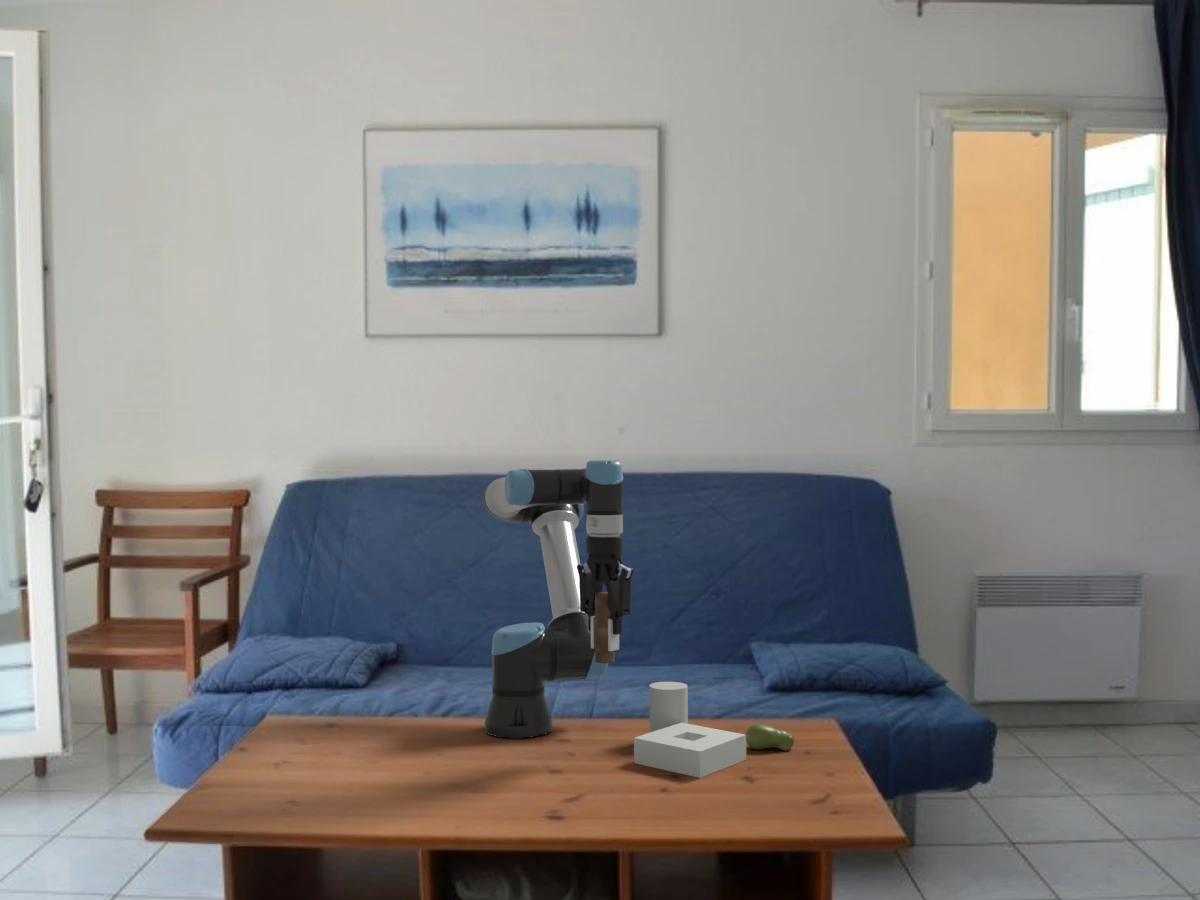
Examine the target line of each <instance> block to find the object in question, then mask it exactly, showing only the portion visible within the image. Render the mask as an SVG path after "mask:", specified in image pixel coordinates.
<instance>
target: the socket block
mask: <svg viewBox="0 0 1200 900" xmlns="http://www.w3.org/2000/svg"><path fill="white" fill-rule="evenodd" d="M746 760H747V742H746V733H745V734H744V733H739V732H734V731H729V730H723V729H716V728H712V727H706V726H703V725H702V726H701V725H697V724H693V723H691V724H690V723H688V724H687V723H678V724H675V725H672V726H669V727H666V728H663V729H660V730H657V731H654V732H650V731H649V732H647V733H644V734H642V735H639V736H635V737H634V738H633V763H634V764H636V765H637V764H638V765H641V766H646V767H650V768H655V769H658V770H663V771H668V772H671V773H672V772H673V773H677V774H682V775H686V776H689V777H694V778H699V779H701V778H705V777H706V776H709V775H712V774H714V773H716V772H719V771H721V770H724V769H726V768H729V767H731V766H734V765H736V764H739V763H742V762H744V761H746Z"/></svg>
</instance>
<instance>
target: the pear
mask: <svg viewBox="0 0 1200 900" xmlns="http://www.w3.org/2000/svg"><path fill="white" fill-rule="evenodd" d="M745 735H746V745H748V746H749V748H751V749H753V750H755V749H757V750H756V751H762V750H766V749H769V748H772V747H774V748H778V749H780V750H781V751H783V750H784V751H785V752H787V751H786V750H790V751H791V750H792V748H793V745H794V743H795V741H794V739H795V736H794V735H792V734H790V733H789V732H788V731H786V730H784V729H778V728H777V727H776V728H775V727H774V726H771V725H768V724H764V723H754V724H751V725H750V726H749V727H748V728H747V730H746V732H745ZM784 751H783V752H784Z"/></svg>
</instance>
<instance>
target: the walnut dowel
mask: <svg viewBox="0 0 1200 900" xmlns="http://www.w3.org/2000/svg"><path fill="white" fill-rule="evenodd" d="M609 617H611V612H610V606H609V600H608V593H607V591H602V592H599V593H595V662H597V663H608V664H612V663H615V659H616V658H615V657H616V656H615V655H616V654H615V653H616V652H615V651H616V650H614V651H608V619H610V618H609Z"/></svg>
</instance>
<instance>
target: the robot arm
mask: <svg viewBox="0 0 1200 900" xmlns="http://www.w3.org/2000/svg"><path fill="white" fill-rule="evenodd" d="M585 466H586V468H567V469H566V468H565V469H564V468H563V469H526V468H522V469H521V468H520V469H513V470H509V471H507V473H506V476H505V477H504V476H503V477H500V478H499V477H498V478H497V479H494V480H492V481H490V483H489V484H488V485H487V486H486V488H485V489H484V492H483V498H482V499H483V505H484V506H485V507H484V508H485V510H487V512H488V513H489V514H490V515H491V516H492V517H494V518H496V519H499V520H502V521H505V522H508V523H513V524H526V523H527V524H528V523H529V524H531V529H532V531H533V533H535V535H537V536H539V539H540V546H541V553H542V558H543V564H544V570H545V576H546V577H545V578H546V582H547V588H548V594H549V595H548V596H549V601H550V607H551V612H552V619H551V620H550V621H549V622H548V625H547V628H546V627H545V625H544V623H542V622H537V621H536V622H522V623H514V624H511V625H507V626H504V627H501V628H499V629H497V630H496V631H495V632H494V633H493V635H492V640H491V642H492V644H491V651H490V652H491V656H492V657H491V665H492V666H491V668H492V671H491V672H492V674H491V679H492V683H491V686H492V690H491V691H492V693H491V694H492V696H491V700H490V702H489V707H488V710H487V716H486V717H485V719H484V732H485V731H486V732H487V733H489V734H492V735H496V736H500V737H499V738H502V737H512V738H511V739H523V738H522V737H530V738H532V737H531V736H537V735H541V736H543V735H542V734H545V733H548V732H550V731H551V730H552V729H553V727H554V726H553V725H554V724H553V717H552V715H550V709H549V706H548V702H547V698H546V695H545V691H546V690H545V684H546V683H547V682H559V681H560V682H561V681H578V680H580V681H581V680H584V681H587V680H589V679H598V678H601V677H602V676H604V675H605V674H606V672H607V669H608V665H609V663H597V662H595V593H599V592H603V587H604V586H605V587H606V592H607V593H608V600H609V606H610V612H611V617H609V618H610V619H608V651H614V650H615V651H618V650H620V635H621V634H622V632H623V631H622V630H623V628H622V626H623V625H622V623H623V621H622V620H623V618H624V617H626V616H627V617H628V616H630V614H631V589H632V588H631V586H632V584H631V583H632V577H633V575H634V568H633V567H628V566H626V565H624V563H623V559H622V554H623V551H624V548H623V547H624V541H623V540H624V538H623V536H621V534H623V533H624V522H623V520H624V519H623V518H624V517H623V515H624V514H623V512H624V511H623V506H624V505H623V503H624V501H623V494H624V493H623V482H624V475H623V465H622V462H620V461H619V460H611V459H610V460H607V459H606V460H604V459H603V460H588V461H587V462H586V465H585ZM584 505H586V506H585V507H586V511H585V513H586V514H585V515H586V522H585V523H586V534H587V535H588V536H587V537H586V538H585V539H586V545H585V547H586V549H585V550H586V553H587V554H588V557H587V560H586V562H585V563H581V560H580V554H579V548H578V543H577V539H576V538H577V537H576V533H575V530H576V528H577V527H578V526H579V523H580V521H581V520H582V518H583V516H584V510H585V509H584ZM552 731H553V730H552ZM552 731H551V732H552ZM486 732H485V733H486ZM551 732H550V733H551ZM487 733H486V734H487ZM489 734H488V735H489ZM548 734H549V733H548ZM545 735H546V734H545ZM537 737H538V736H537Z"/></svg>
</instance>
